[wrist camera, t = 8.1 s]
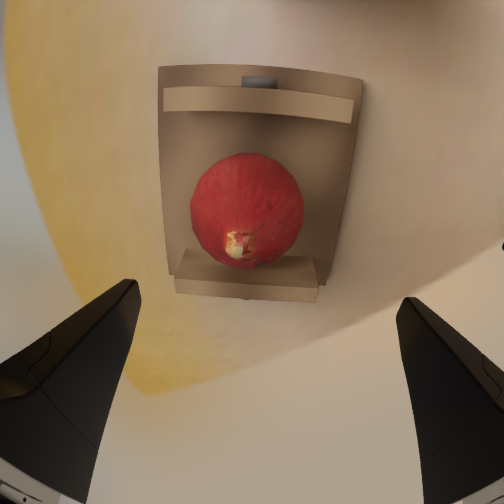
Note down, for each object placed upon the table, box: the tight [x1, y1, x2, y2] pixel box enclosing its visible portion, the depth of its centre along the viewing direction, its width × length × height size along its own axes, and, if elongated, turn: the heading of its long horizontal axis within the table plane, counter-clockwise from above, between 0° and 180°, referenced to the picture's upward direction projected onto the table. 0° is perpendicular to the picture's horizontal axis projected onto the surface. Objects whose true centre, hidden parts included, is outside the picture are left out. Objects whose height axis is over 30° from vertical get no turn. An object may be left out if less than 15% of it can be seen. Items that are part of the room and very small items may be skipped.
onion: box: [190, 153, 304, 269], centre depth 15 cm, size 6×6×8 cm
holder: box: [158, 64, 363, 303], centre depth 18 cm, size 12×15×4 cm
